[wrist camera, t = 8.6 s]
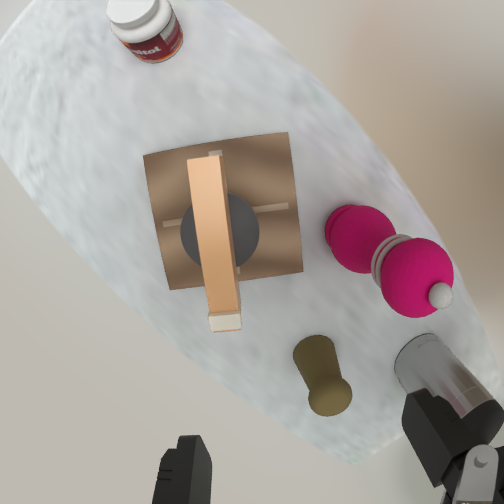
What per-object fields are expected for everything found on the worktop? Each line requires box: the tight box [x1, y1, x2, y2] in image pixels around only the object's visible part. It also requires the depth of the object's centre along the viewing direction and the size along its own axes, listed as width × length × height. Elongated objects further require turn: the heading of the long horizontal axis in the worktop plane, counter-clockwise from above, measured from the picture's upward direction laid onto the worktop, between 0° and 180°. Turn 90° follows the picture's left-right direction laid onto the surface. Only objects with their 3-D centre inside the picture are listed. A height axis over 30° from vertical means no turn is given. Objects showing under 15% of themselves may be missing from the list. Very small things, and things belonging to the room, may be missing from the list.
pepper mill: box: [325, 205, 454, 318], centre depth 26 cm, size 7×7×20 cm
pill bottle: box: [107, 0, 183, 63], centre depth 22 cm, size 6×6×11 cm
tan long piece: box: [180, 155, 260, 332], centre depth 23 cm, size 6×12×8 cm, turn 6°
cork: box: [293, 335, 352, 417], centre depth 35 cm, size 6×6×11 cm
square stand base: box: [143, 132, 303, 290], centre depth 30 cm, size 16×16×8 cm
